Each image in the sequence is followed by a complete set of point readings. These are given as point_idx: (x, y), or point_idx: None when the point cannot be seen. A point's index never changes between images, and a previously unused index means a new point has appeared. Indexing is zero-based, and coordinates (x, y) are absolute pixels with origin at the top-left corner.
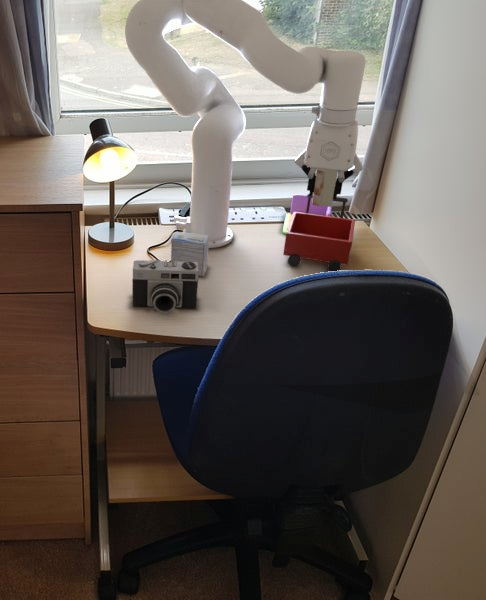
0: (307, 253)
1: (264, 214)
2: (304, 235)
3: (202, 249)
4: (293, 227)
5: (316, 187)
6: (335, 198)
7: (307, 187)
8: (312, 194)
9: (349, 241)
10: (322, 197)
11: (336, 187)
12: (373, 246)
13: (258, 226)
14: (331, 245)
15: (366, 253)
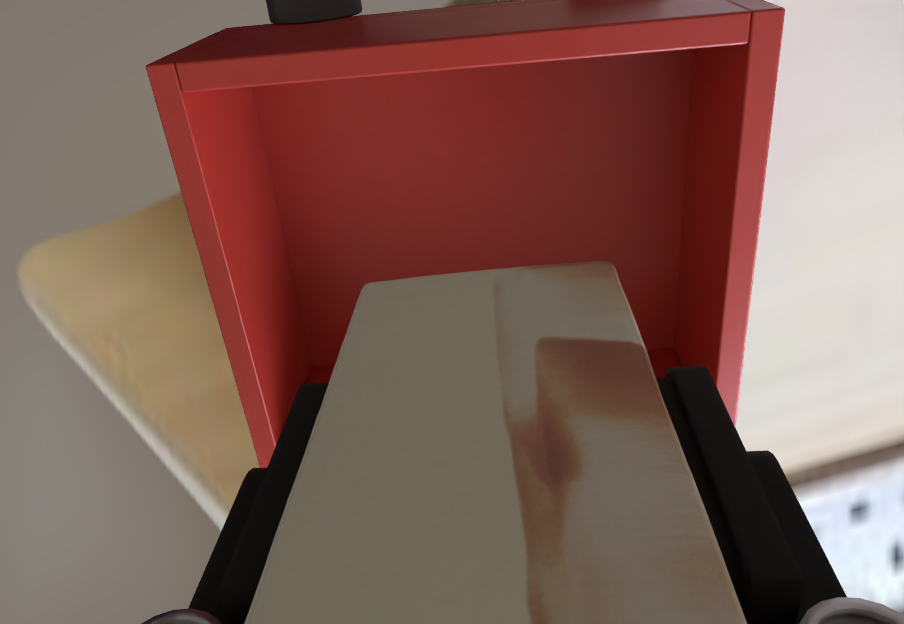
0: (527, 6)
1: (846, 553)
2: (595, 29)
3: None
4: (689, 331)
5: (642, 421)
6: (311, 384)
7: (784, 477)
8: (659, 382)
9: (172, 77)
10: (492, 329)
11: (279, 508)
12: (205, 409)
13: (883, 417)
14: (333, 39)
15: (212, 322)
